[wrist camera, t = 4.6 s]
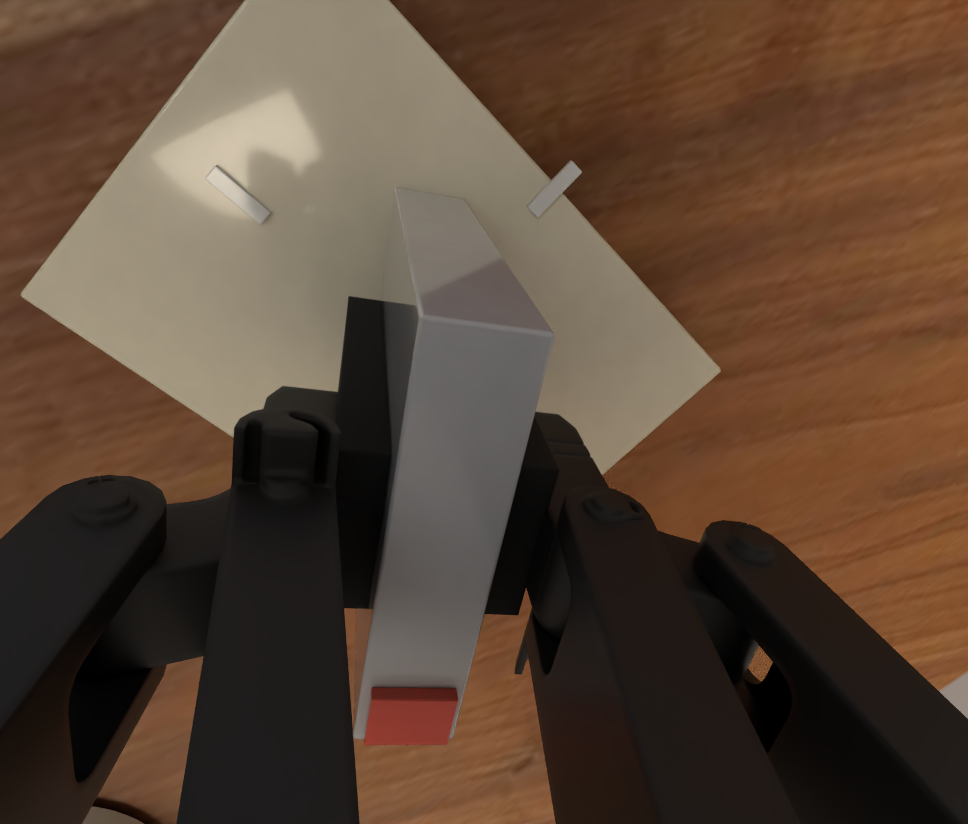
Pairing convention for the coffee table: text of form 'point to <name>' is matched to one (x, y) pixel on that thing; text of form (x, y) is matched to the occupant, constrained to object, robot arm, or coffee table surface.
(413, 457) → the grey flat rectangular block
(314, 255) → the base
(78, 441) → the coffee table surface
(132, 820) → the travel mug
